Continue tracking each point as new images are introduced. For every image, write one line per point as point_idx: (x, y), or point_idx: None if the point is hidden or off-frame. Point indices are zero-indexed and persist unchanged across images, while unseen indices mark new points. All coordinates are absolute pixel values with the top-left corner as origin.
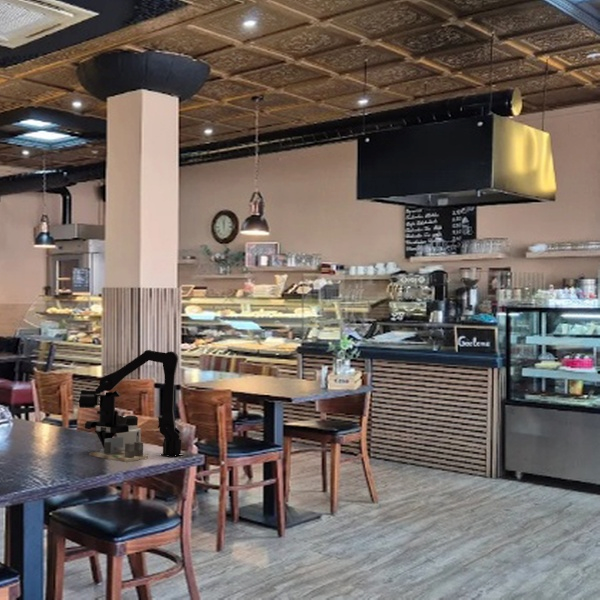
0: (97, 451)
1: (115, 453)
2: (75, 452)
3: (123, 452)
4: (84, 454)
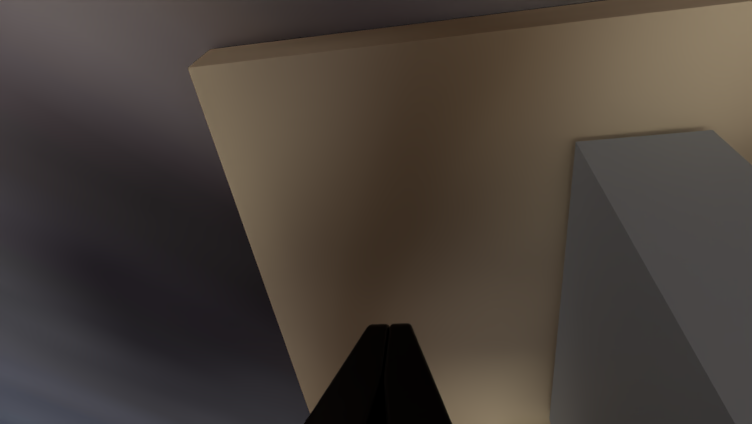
0: (294, 364)
1: None
2: (55, 408)
3: (739, 122)
4: (235, 417)
